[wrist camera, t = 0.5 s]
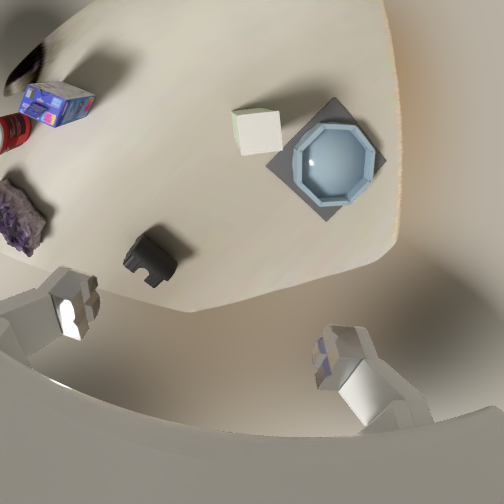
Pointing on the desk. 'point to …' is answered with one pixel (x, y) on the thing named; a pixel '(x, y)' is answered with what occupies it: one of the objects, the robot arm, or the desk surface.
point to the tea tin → (257, 130)
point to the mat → (283, 159)
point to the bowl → (333, 163)
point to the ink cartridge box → (55, 103)
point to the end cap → (150, 261)
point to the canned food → (13, 131)
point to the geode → (19, 219)
